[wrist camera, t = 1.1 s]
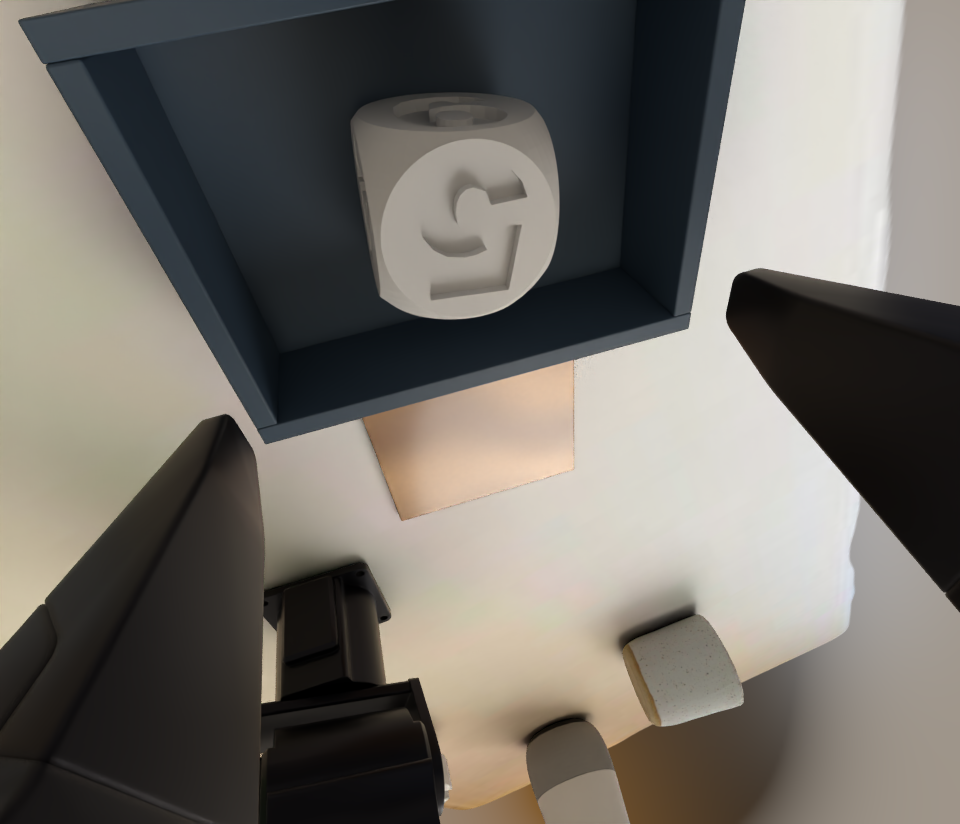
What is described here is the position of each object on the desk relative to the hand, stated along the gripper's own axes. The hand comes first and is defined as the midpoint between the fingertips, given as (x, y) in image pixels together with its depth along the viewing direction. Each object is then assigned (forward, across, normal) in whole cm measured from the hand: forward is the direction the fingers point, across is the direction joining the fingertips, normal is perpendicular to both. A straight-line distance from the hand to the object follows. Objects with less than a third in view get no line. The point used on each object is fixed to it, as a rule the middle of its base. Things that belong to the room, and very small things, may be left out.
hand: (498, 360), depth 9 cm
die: (+11, -1, 0) cm, 11 cm away
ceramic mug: (+12, -15, +46) cm, 50 cm away
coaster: (+11, -1, +12) cm, 17 cm away
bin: (+11, -1, 0) cm, 11 cm away
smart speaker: (+12, -4, +63) cm, 65 cm away
